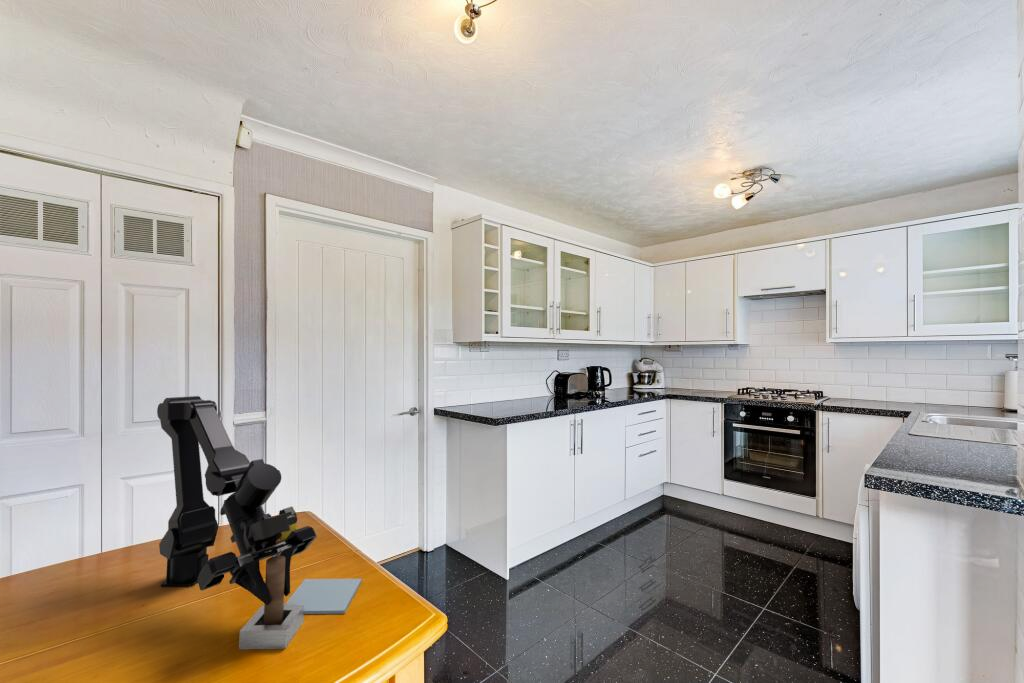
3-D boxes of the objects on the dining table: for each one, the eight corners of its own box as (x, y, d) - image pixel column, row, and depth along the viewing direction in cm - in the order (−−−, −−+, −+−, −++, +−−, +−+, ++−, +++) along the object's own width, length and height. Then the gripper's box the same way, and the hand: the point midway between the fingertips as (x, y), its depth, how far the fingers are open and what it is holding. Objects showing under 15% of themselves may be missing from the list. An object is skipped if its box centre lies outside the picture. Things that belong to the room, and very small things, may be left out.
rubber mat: (279, 614, 84) (279, 611, 84) (305, 581, 96) (305, 579, 96) (344, 613, 85) (344, 610, 85) (361, 581, 97) (361, 578, 97)
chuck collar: (238, 649, 74) (239, 630, 74) (261, 622, 82) (262, 605, 82) (285, 648, 74) (286, 630, 75) (303, 621, 82) (304, 605, 82)
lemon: (300, 536, 119) (302, 506, 119) (288, 545, 114) (289, 513, 114) (281, 535, 120) (282, 505, 120) (268, 544, 114) (269, 512, 114)
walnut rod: (259, 640, 76) (262, 563, 77) (268, 629, 79) (271, 555, 80) (277, 640, 77) (280, 563, 77) (285, 629, 80) (288, 555, 80)
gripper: (208, 510, 73) (240, 600, 67) (313, 484, 89) (346, 555, 82) (184, 547, 77) (212, 635, 71) (288, 515, 93) (319, 585, 86)
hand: (278, 599), depth 77 cm, fingers closed on walnut rod, 3 cm apart
